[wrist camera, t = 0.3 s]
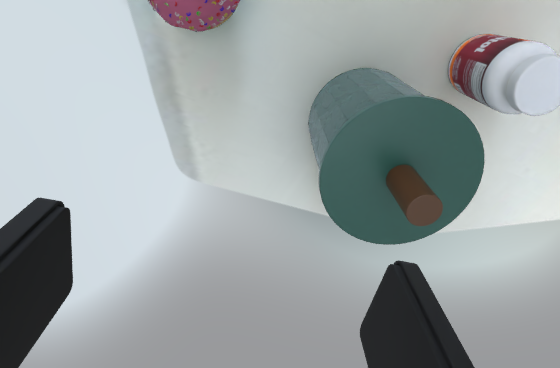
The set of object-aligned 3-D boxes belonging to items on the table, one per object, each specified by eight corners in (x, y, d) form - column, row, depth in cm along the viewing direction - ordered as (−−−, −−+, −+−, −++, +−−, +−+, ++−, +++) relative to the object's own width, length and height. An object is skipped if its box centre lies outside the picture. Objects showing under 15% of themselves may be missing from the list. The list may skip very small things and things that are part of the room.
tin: (352, 45, 37) (392, 69, 25) (433, 106, 40) (505, 155, 28) (288, 135, 41) (296, 194, 29) (366, 184, 44) (403, 256, 32)
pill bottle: (510, 29, 37) (597, 40, 27) (500, 90, 40) (575, 120, 30) (448, 36, 37) (513, 50, 27) (442, 96, 40) (499, 128, 30)
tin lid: (389, 57, 25) (421, 73, 20) (510, 150, 28) (566, 185, 23) (287, 192, 30) (290, 235, 24) (401, 258, 33) (426, 308, 28)
